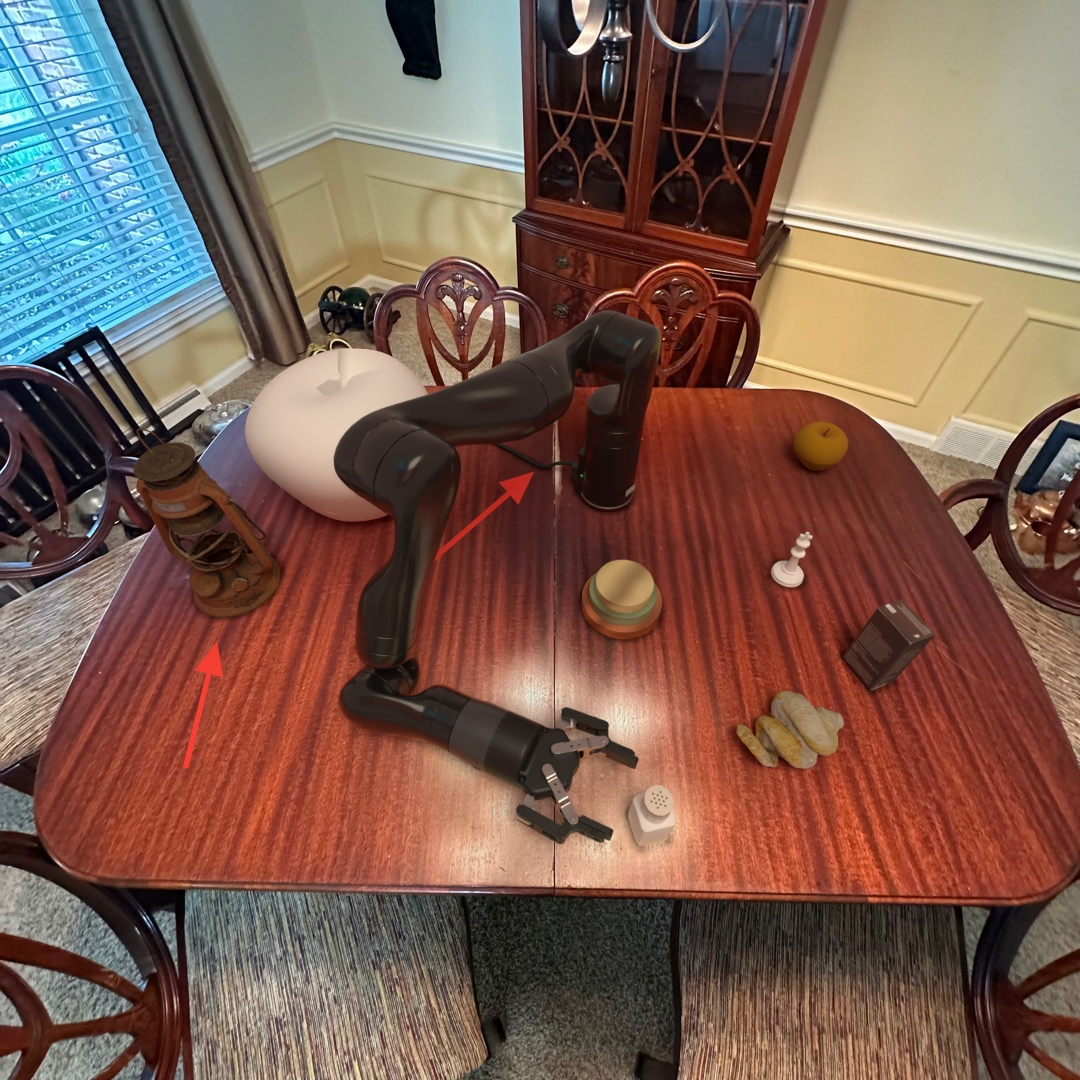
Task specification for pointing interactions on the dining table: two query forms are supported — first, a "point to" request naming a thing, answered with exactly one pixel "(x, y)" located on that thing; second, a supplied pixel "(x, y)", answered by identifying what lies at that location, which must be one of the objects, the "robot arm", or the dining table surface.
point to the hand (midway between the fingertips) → (625, 798)
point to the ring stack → (621, 600)
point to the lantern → (196, 507)
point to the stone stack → (793, 732)
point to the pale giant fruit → (323, 423)
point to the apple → (820, 445)
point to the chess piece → (792, 564)
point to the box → (887, 644)
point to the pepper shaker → (652, 815)
